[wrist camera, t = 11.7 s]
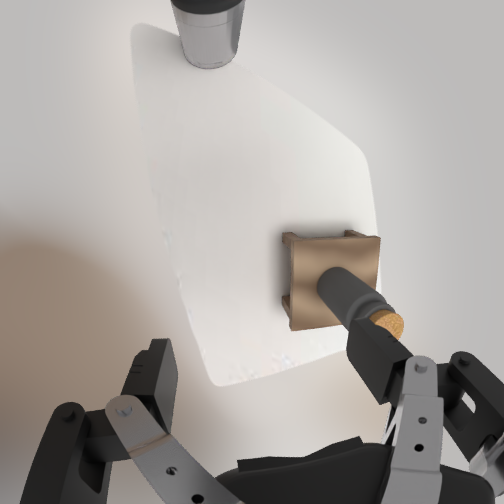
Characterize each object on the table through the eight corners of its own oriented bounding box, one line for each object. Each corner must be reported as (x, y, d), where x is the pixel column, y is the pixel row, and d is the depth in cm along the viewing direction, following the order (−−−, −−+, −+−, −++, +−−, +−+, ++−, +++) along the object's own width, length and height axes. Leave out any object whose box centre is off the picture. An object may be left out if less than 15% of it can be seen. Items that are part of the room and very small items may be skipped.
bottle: (337, 258, 39) (394, 297, 24) (358, 283, 40) (415, 327, 26) (308, 286, 39) (352, 339, 25) (331, 309, 41) (378, 365, 26)
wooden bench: (280, 230, 46) (294, 241, 37) (354, 228, 47) (380, 237, 39) (279, 306, 49) (291, 331, 41) (349, 299, 51) (370, 319, 42)
